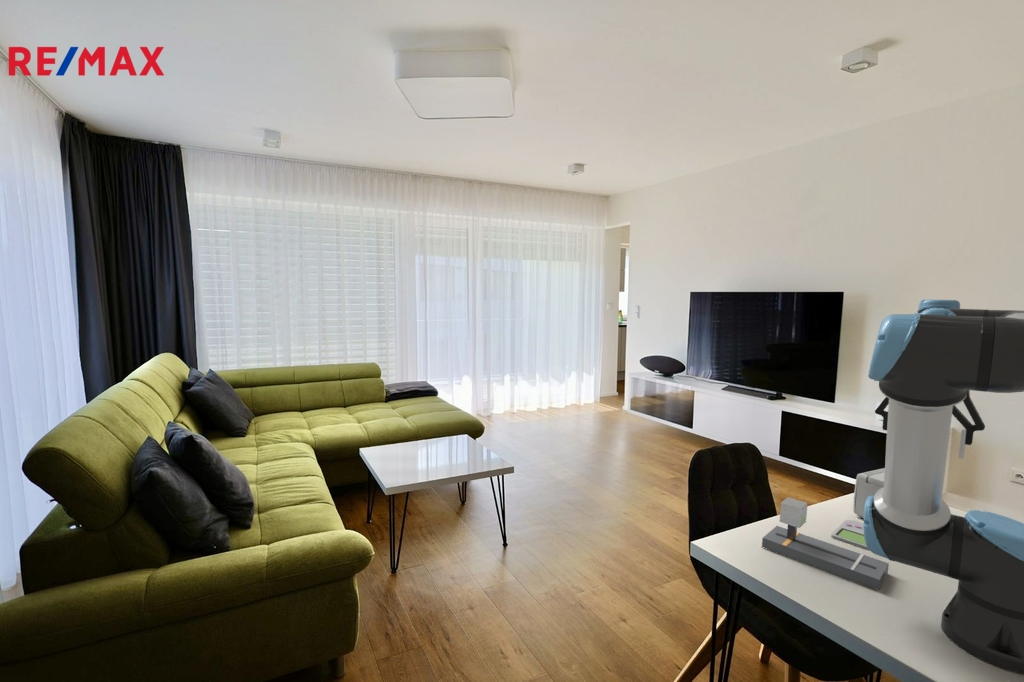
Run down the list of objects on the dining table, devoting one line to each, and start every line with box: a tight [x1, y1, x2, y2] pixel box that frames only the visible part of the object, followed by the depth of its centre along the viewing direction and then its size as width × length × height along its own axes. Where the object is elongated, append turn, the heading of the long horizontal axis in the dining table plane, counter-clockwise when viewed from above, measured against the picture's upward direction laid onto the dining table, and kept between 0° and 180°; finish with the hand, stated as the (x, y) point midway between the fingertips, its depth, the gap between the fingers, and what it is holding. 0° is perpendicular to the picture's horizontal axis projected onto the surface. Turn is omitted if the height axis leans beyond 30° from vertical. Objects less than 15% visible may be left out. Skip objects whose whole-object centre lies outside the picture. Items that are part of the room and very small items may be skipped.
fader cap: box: [779, 496, 808, 540], centre depth 123 cm, size 4×5×9 cm
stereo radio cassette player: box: [852, 455, 886, 519], centre depth 143 cm, size 21×8×20 cm, turn 115°
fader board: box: [761, 525, 890, 591], centre depth 118 cm, size 24×10×3 cm, turn 43°
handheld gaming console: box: [831, 519, 871, 552], centre depth 131 cm, size 10×2×15 cm
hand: (923, 450), depth 119 cm, fingers open, 13 cm apart
